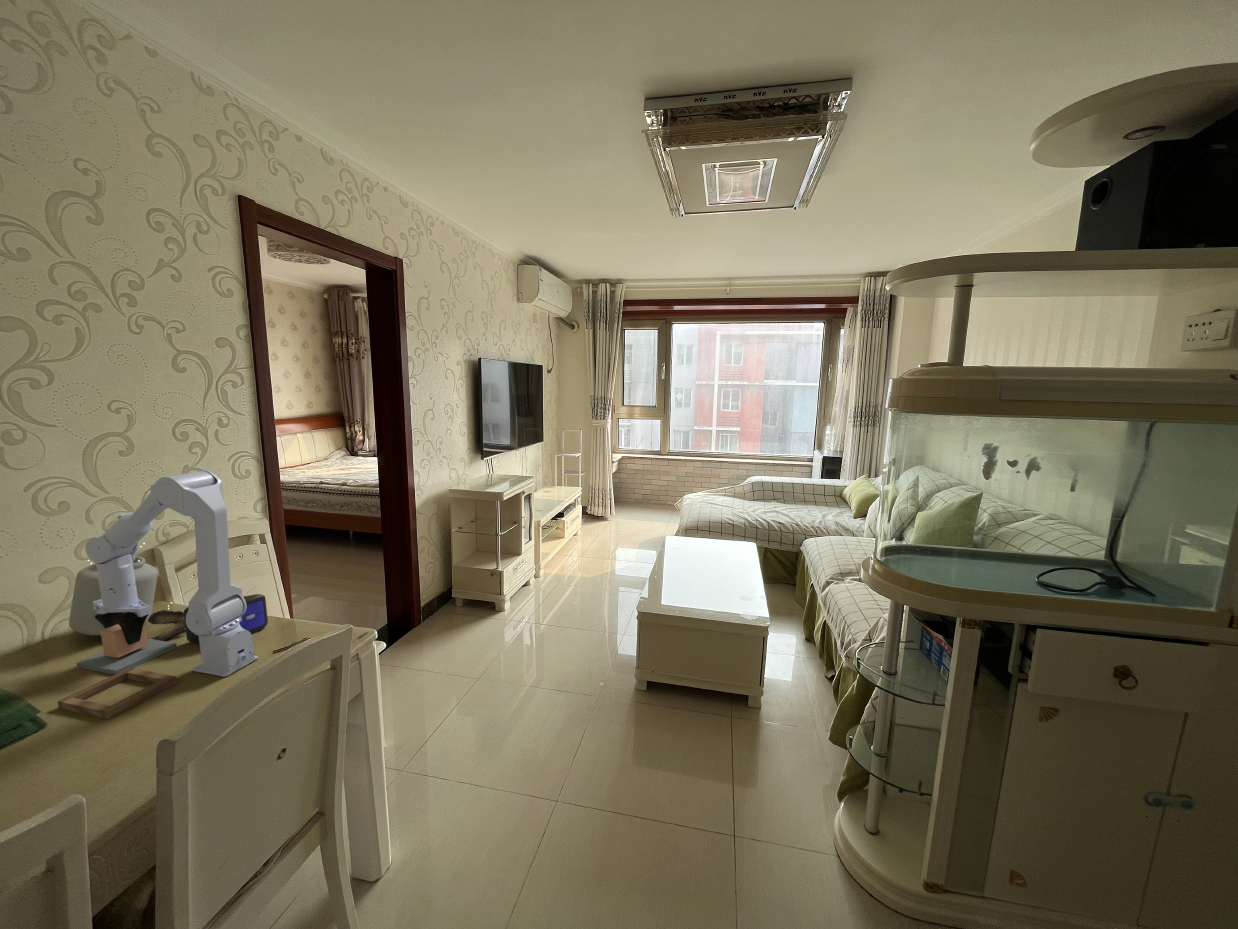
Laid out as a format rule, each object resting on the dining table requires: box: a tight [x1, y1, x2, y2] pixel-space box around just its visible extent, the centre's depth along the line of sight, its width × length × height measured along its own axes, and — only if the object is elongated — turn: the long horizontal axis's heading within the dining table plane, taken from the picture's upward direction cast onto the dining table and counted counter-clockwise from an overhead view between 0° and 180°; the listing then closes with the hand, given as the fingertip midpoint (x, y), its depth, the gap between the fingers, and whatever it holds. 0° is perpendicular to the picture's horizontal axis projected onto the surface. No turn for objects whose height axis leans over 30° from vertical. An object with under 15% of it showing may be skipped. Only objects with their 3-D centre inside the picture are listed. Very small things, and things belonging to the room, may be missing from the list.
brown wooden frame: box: [57, 667, 178, 720], centre depth 101 cm, size 13×12×2 cm
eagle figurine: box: [147, 609, 186, 641], centre depth 126 cm, size 8×7×9 cm
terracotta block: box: [100, 622, 148, 658], centre depth 115 cm, size 4×6×6 cm, turn 168°
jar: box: [68, 542, 173, 636], centre depth 127 cm, size 19×15×25 cm
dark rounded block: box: [183, 593, 269, 644], centre depth 124 cm, size 16×5×9 cm, turn 123°
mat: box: [76, 637, 178, 675], centre depth 115 cm, size 12×12×1 cm
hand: (126, 641), depth 115 cm, fingers closed on terracotta block, 4 cm apart
